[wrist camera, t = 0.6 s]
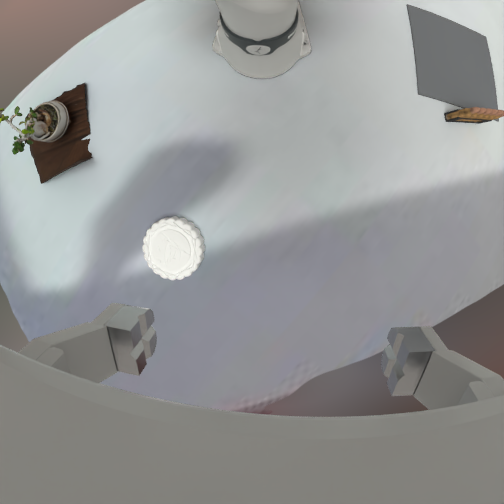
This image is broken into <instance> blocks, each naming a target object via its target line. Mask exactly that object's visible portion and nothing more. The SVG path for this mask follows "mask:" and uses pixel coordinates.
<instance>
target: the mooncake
mask: <svg viewBox="0 0 504 504" xmlns="http://www.w3.org/2000/svg"><path fill="white" fill-rule="evenodd" d="M146 234H147V235H146V236H145V237H144V239H143V242H144V245H143V251H144V253H145V254H144V258H145V260H146V261H148V266H149V267H150V268H152V269H153V271H154V273H155V274H160V276H161V277H162V278H169V279H170V280H175V279H176V278H177V279H179V280H181V279H183V278H184V277H185V276H186V277H188V276H190V275H191V274H192V273H193V272H194V271H196V270H197V268H198V267H199V266H200V262H201V261H202V260H203V258H204V254H203V252H204V251H205V246H204V244H203V243H204V238H203V237H202V236H201V235H200V230H199V229H198V228H195V225H194V223H192V222H188V221H187V219H185V218H180V219H179V218H178V217H177V216H173V217H171V218H169V217H166V218H164V219H161V220H160V221H158V222H156V223H154V224H153V225H152V228H149V229H148V230H147V233H146Z"/></svg>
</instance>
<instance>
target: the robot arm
mask: <svg viewBox="0 0 504 504" xmlns="http://www.w3.org/2000/svg"><path fill="white" fill-rule="evenodd" d="M215 2H216V4H217V6H218V8H219V10H220V19H218V21H217V26H219V27H218V30H217V31H216V36H215V39H214V42H213V45H212V48H213V51H214V52H216V53H217V54H219V55H221V56H223V57H224V58H225V59H226V60H227V62H228V63H229V64H230V66H231V67H232V68H233V69H234V70H236V71H237V72H239V73H241V74H243V75H245V76H248V77H252V78H259V79H264V78H272V77H276V76H278V75H281V74H283V73H285V72H286V71H288V70H289V69H290V68H291V67H292V66H293V65H294V64H295V63H296V62H297V61H298V60H299V59H301V58H303V57H305V56H307V55H309V54H310V53H311V45H310V41H309V37H308V33H307V30H306V26H305V22H304V19H303V15H302V11H301V8H300V5H299V1H298V0H215ZM303 43H305V44H306V45H303ZM153 322H154V315H153V311H152V310H151V309H147V308H141V307H136V306H130V305H125V304H119V303H112V304H110V305H109V306H108V307H107V308H106V309H105V310H104V311H103V312H102V313H101V314H100V315H99V316H98V317H96V318H95V319H94V320H93V321H92V322H91V323H88V322H86V323H83V324H80V325H77V326H74V327H71V328H67V329H64V330H61V331H58V332H54V333H51V334H48V335H45V336H41V337H38V338H35V339H33V340H32V341H31V342H29V343H28V344H27V345H26V346H25V347H24V348H23V349H21V350H20V351H19V352H18V353H17V352H15V351H13V350H10V349H8V348H6V347H4V346H2V345H0V504H504V380H503V378H502V377H501V376H500V375H498V374H496V373H494V372H492V371H491V370H489V369H487V368H485V367H483V366H481V365H479V364H477V363H475V362H474V361H472V360H469V359H468V358H466V357H464V356H462V355H460V354H458V353H456V352H455V351H452V350H448V349H447V348H446V346H445V345H444V343H443V342H442V341H441V339H440V338H439V337H438V335H437V334H436V333H435V331H434V330H433V328H432V327H430V326H423V327H395V328H391V330H390V332H389V334H388V338H387V339H388V341H389V343H390V344H389V345H388V346H387V347H386V348H385V349H384V351H383V355H382V361H381V366H382V371H383V374H384V375H385V376H386V377H388V378H389V379H388V382H387V385H388V387H389V390H390V392H391V395H392V396H402V395H414V397H415V398H416V399H418V400H419V401H420V402H421V403H422V404H423V405H424V406H425V407H427V408H428V409H429V410H425V411H418V412H409V413H401V414H390V415H377V416H356V417H298V416H278V415H265V414H253V413H243V412H234V411H226V410H219V409H212V408H205V407H199V406H193V405H187V404H182V403H177V402H172V401H167V400H162V399H157V398H153V397H149V396H144V395H140V394H136V393H132V392H128V391H124V390H121V389H117V388H114V387H110V386H107V385H103V384H100V382H102V381H103V380H105V379H107V378H109V377H110V376H112V375H114V374H115V373H117V371H119V372H124V373H128V374H133V375H138V376H140V374H141V372H142V371H143V369H144V368H145V366H146V364H147V363H146V359H147V358H149V357H151V356H152V355H153V353H154V351H155V347H156V341H157V337H156V331H155V330H154V328H153V327H152V326H151V325H152V323H153Z"/></svg>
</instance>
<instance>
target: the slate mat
mask: <svg viewBox="0 0 504 504" xmlns="http://www.w3.org/2000/svg"><path fill="white" fill-rule="evenodd" d="M407 9H408V14H409V20H410V26H411V32H412V39H413V46H414V54H415V63H416V73H417V86H418V94H419V95H423V96H426V97H430V98H433V99H437V100H440V101H443V102H446V103H450V104H453V105H456V106H459V107H461V108H464V109H465V108H472V107H479V108H486V109H487V108H489V109H497V110H498V105H497V96H496V88H495V81H494V74H493V68H492V63H491V57H490V52H489V48H488V43H487V39H486V37H485V36H483V35H481V34H479V33H477V32H475V31H473V30H471V29H469V28H467V27H465V26H462V25H460V24H458V23H456V22H453V21H451V20H449V19H446V18H444V17H441V16H439V15H436V14H434V13H431V12H428V11H425V10H423V9H420V8H417V7H414V6H411V5H408V4H407ZM493 120H496V121H499V118H498V119H493Z"/></svg>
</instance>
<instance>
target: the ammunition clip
mask: <svg viewBox="0 0 504 504" xmlns="http://www.w3.org/2000/svg"><path fill="white" fill-rule="evenodd" d="M444 115H445V120H446V122H465V123H483V122H488V121H492V120H493V119H498V118H500V117H503V116H504V111H503V110H497V109H489V108H487V109H486V108H479V107H472V108H465V109H461V110H458V109H457V110H454V111H450V112H447V113H444Z"/></svg>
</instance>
